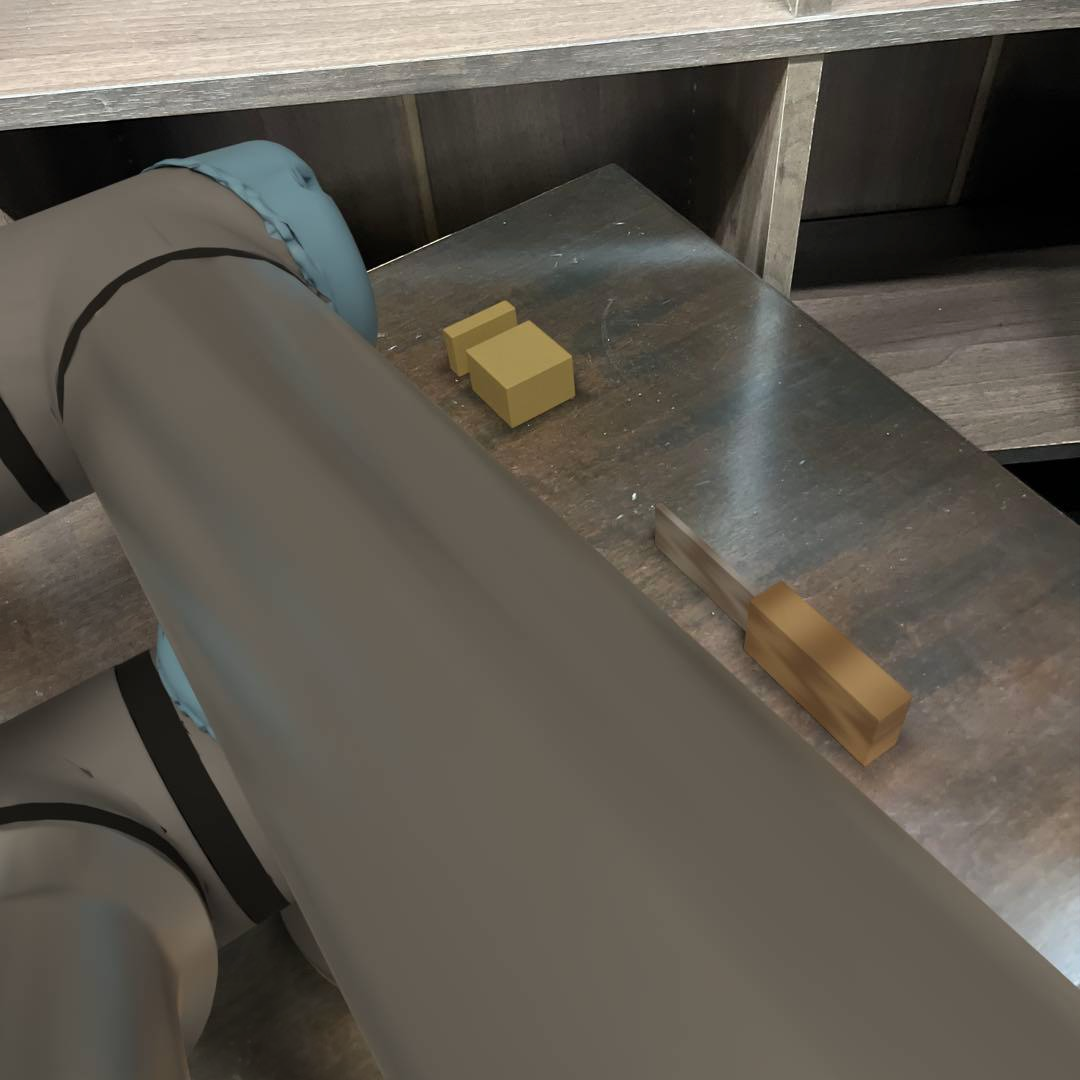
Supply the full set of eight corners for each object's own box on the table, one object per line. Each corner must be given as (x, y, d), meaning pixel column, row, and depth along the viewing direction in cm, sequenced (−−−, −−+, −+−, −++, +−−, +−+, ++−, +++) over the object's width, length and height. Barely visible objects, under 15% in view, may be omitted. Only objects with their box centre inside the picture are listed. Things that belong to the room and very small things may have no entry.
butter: (575, 396, 78) (572, 355, 75) (512, 429, 76) (506, 389, 73) (533, 359, 81) (529, 319, 78) (471, 389, 79) (464, 350, 76)
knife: (896, 743, 56) (913, 696, 52) (864, 767, 55) (879, 720, 51) (672, 535, 67) (673, 483, 64) (642, 552, 67) (642, 501, 63)
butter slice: (520, 347, 83) (515, 307, 80) (459, 377, 81) (451, 337, 78) (510, 339, 83) (505, 299, 80) (450, 368, 82) (442, 328, 79)
